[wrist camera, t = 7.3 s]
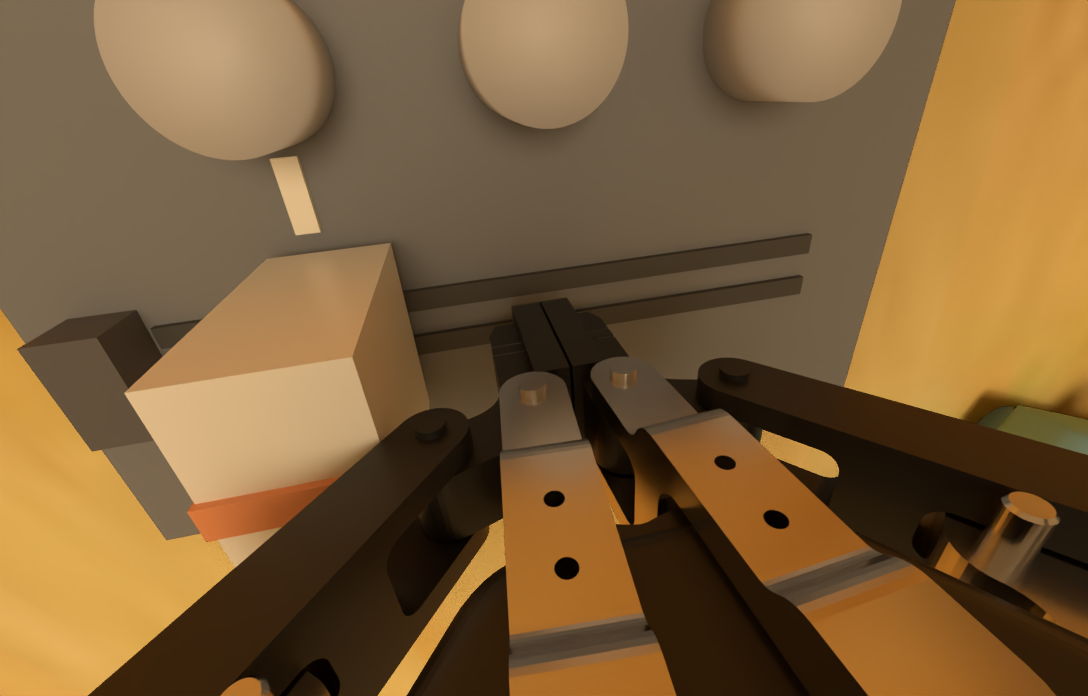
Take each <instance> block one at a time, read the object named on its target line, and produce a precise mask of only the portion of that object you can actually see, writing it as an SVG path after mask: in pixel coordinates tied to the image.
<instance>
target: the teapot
mask: <svg viewBox="0 0 1088 696" xmlns="http://www.w3.org/2000/svg"><path fill="white" fill-rule="evenodd" d="M977 424H978V425H982V426H985V427H989V428H992V429H996V430H1000V431H1003V432H1007V433H1010V434H1014V435H1018V436H1021V437H1025V438H1028V439H1032V440H1036V441H1039V442H1043V443H1046V444H1050V445H1054V446H1057V447H1061V448H1064V449H1068V450H1072V451H1075V452H1079V453H1082V454H1086V455H1088V419H1083V418H1078V417H1074V416H1069V415H1064V414H1060V413H1055V412H1050V411H1046V410H1041V409H1036V408H1031V407H1027V406H1022V405H1017V407H1016V408H1015V409H1014V408H1013V407H1011V406H1005V407H1001V408H998V409H995V410H993V411H992V412H990V413H989V414H987V415H986V416H985V417H983V418H982V419H981V420H980V421H979V422H978V423H977Z"/></svg>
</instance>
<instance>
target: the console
mask: <svg viewBox="0 0 1088 696" xmlns="http://www.w3.org/2000/svg"><path fill="white" fill-rule="evenodd" d="M955 1H956V0H0V309H1V310H2V311H3V313H4V314H5V316H6V317H7V318H8V320H9V321H10V323H11V324H12V325H13V327H14V328H15V330H16V331H17V332H18V334H19V335H20V337H21V338H22V339H23V341H24V342H25V345H23V346H22V347H20V348H18V349H17V350H18V351H19V352H20V354H21V355H22V357H23V358H24V359H25V361H26V362H27V363H28V365H29V366H30V367H31V369H32V370H33V372H34V373H35V374H36V376H37V377H38V378H39V380H40V381H41V383H42V384H43V385H44V387H45V388H46V389H47V391H48V392H49V393H50V395H51V396H52V398H53V399H54V400H55V402H56V403H57V404H58V406H59V407H60V408H61V410H62V411H63V413H64V414H65V415H66V417H67V418H68V419H69V421H70V422H71V423H72V425H73V426H74V428H75V429H76V430H77V432H78V433H79V434H80V436H81V437H82V439H83V440H84V441H85V443H86V444H87V445H88V447H89V448H90V449H91V451H97V450H102V451H103V452H104V454H105V455H106V457H107V458H108V459H109V461H110V462H111V464H112V465H113V466H114V468H115V469H116V470H117V472H118V473H119V475H120V476H121V477H122V479H123V480H124V482H125V483H126V484H127V486H128V487H129V489H130V490H131V491H132V493H133V494H134V496H135V497H136V498H137V500H138V501H139V503H140V504H141V505H142V507H143V508H144V510H145V511H146V512H147V514H148V515H149V517H150V518H151V519H152V521H153V522H154V523H155V525H156V526H157V528H158V529H159V530H160V532H161V533H162V535H163V536H164V537H165V539H166V540H170V539H175V538H180V537H185V536H190V535H195V534H200V531H199V530H198V528H197V527H196V525H195V524H194V522H193V521H192V519H191V518H190V516H189V515H188V513H187V511H188V510H189V508H190V507H191V505H192V503H193V501H192V499H191V498H190V496H189V494H188V493H187V491H186V490H185V488H184V487H183V485H182V483H181V482H180V480H179V479H178V477H177V476H176V474H175V472H174V471H173V469H172V468H171V466H170V465H169V463H168V461H167V460H166V458H165V457H164V455H163V454H162V452H161V450H160V449H159V447H158V446H157V444H156V443H155V441H154V439H153V438H152V436H151V435H150V433H149V431H148V430H147V428H146V427H145V425H144V424H143V422H142V420H141V419H140V417H139V416H138V414H137V413H136V411H135V409H134V408H133V406H132V405H131V403H130V402H129V400H128V398H127V397H126V395H125V394H124V393H125V392H126V391H127V390H128V389H129V388H130V387H131V386H132V385H133V384H134V383H135V382H136V381H137V380H139V379H140V378H141V377H142V376H143V375H144V374H145V373H146V372H147V371H148V370H149V369H150V368H151V367H152V366H153V365H154V364H156V363H157V362H158V361H159V360H160V359H161V358H162V357H163V356H164V355H165V354H166V353H167V352H168V351H169V350H170V349H171V348H173V347H174V346H175V345H176V344H177V343H178V342H179V341H180V340H181V339H182V338H183V337H184V336H185V335H186V334H187V333H188V332H190V331H191V330H192V329H193V328H194V327H195V326H196V325H197V324H198V323H199V322H200V321H201V320H202V319H203V318H204V317H205V316H207V315H208V314H209V313H210V312H211V311H212V310H213V309H214V308H215V307H216V306H217V305H218V304H219V303H220V302H221V301H222V300H224V299H225V298H226V297H227V296H228V295H229V294H230V293H231V292H232V291H233V290H234V289H235V288H236V287H237V286H238V285H239V284H241V283H242V282H243V281H244V280H245V279H246V278H247V277H248V276H249V275H250V274H251V273H252V272H253V271H254V270H255V269H256V268H258V267H259V266H260V265H261V264H262V263H263V262H264V261H265V260H266V259H269V258H277V257H284V256H292V255H300V254H308V253H316V252H323V251H331V250H339V249H347V248H355V247H362V246H370V245H378V244H386V243H391V246H392V250H393V254H394V258H395V262H396V267H397V271H398V275H399V279H400V283H401V287H402V291H403V295H404V299H405V303H406V307H407V312H408V316H409V320H410V324H411V328H412V332H413V336H414V340H415V344H416V348H417V352H418V357H419V361H420V365H421V369H422V373H423V377H424V381H425V385H426V389H427V393H428V397H429V409H435V408H450V409H455V410H457V411H460V412H461V413H463V414H464V415H465V416H466V417H467V419H470V418H472V417H475V416H477V415H479V414H481V413H483V412H485V411H487V410H488V409H489V408H491V407H492V406H493V405H494V404H495V403H496V401H497V400H498V398H499V392H498V387H497V381H496V375H495V369H494V362H493V356H492V350H491V343H490V337H489V336H490V335H491V333H492V331H493V330H494V328H495V326H501V325H508V324H513V319H512V309H511V307H512V306H514V305H521V304H527V303H533V302H539V303H540V301H546V300H552V299H559V298H565V297H566V298H567V299H568V300H569V302H570V303H571V305H572V307H573V308H574V310H575V311H576V313H582V312H590V313H592V314H594V315H596V316H598V317H600V318H602V320H603V321H604V323H605V324H606V325H607V327H608V329H610V331H611V332H612V334H613V336H614V337H615V338H616V339H617V341H618V342H619V343H620V345H621V346H622V347H623V349H624V350H625V352H626V353H627V354H628V356H629V357H633V358H638V359H641V360H644V361H646V362H648V363H650V364H651V365H652V366H653V367H654V368H655V369H656V370H657V371H658V372H659V373H660V374H661V375H662V376H663V377H664V378H666V379H697V377H698V370H699V367H700V366H701V365H702V364H703V363H705V362H707V361H709V360H712V359H716V358H739V359H744V360H748V361H751V362H755V363H759V364H762V365H766V366H769V367H773V368H777V369H780V370H784V371H787V372H791V373H795V374H798V375H802V376H805V377H809V378H813V379H816V380H820V381H823V382H827V383H831V384H834V385H838V386H841V387H844V384H845V380H846V377H847V374H848V370H849V367H850V363H851V360H852V356H853V353H854V349H855V346H856V343H857V339H858V336H859V332H860V329H861V325H862V322H863V318H864V315H865V311H866V308H867V305H868V301H869V298H870V294H871V291H872V287H873V284H874V280H875V277H876V274H877V270H878V267H879V263H880V260H881V256H882V253H883V249H884V246H885V243H886V239H887V236H888V232H889V229H890V225H891V222H892V218H893V215H894V212H895V208H896V205H897V201H898V198H899V194H900V191H901V187H902V184H903V181H904V177H905V174H906V170H907V167H908V163H909V160H910V156H911V153H912V150H913V146H914V143H915V139H916V136H917V132H918V129H919V125H920V122H921V118H922V115H923V112H924V108H925V105H926V101H927V98H928V94H929V91H930V87H931V84H932V81H933V77H934V74H935V70H936V67H937V63H938V60H939V56H940V53H941V50H942V46H943V43H944V39H945V36H946V32H947V29H948V25H949V22H950V19H951V15H952V12H953V8H954V5H955Z"/></svg>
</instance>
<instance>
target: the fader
mask: <svg viewBox="0 0 1088 696" xmlns="http://www.w3.org/2000/svg"><path fill="white" fill-rule="evenodd" d="M124 394H125V395H126V397H127V398H128V400H129V402H130V403H131V405H132V406H133V408H134V409H135V411H136V413H137V414H138V416H139V417H140V419H141V420H142V422H143V424H144V425H145V427H146V428H147V430H148V431H149V433H150V435H151V436H152V438H153V439H154V441H155V443H156V444H157V446H158V447H159V449H160V450H161V452H162V454H163V455H164V457H165V458H166V460H167V461H168V463H169V465H170V466H171V468H172V469H173V471H174V472H175V474H176V476H177V477H178V479H179V480H180V482H181V483H182V485H183V487H184V488H185V490H186V491H187V493H188V494H189V496H190V498H191V499H192V501H193V503H192V505H191V507H190V508H189V510H188V511H187V513H188V515H189V516H190V518H191V519H192V521H193V522H194V524H195V525H196V527H197V528H198V530H199V531H200V533H201V535H202V536H203V538H204V539H205V541H206V542H210V541H215V540H218V542H219V543H220V545H221V546H222V548H223V549H224V551H225V553H226V554H227V556H228V557H229V559H230V561H231V562H232V564H233V565H234V567H235V568H236V567H237V566H238V565H239V564H240V563H241V562H243V561H244V560H245V559H246V558H247V557H248V556H249V555H251V554H252V553H253V552H254V551H255V550H256V549H257V548H259V547H260V546H261V545H262V544H263V543H264V542H266V541H267V540H268V539H269V538H270V537H271V536H272V535H274V534H275V533H276V532H277V531H278V530H279V529H281V528H282V527H283V526H284V525H285V524H286V523H287V522H289V521H290V520H291V519H292V518H293V517H294V516H296V515H297V514H298V513H299V512H300V511H301V510H302V509H304V508H305V507H306V506H307V505H308V504H309V503H310V502H312V501H313V500H314V499H315V498H316V497H317V496H319V495H320V494H321V493H322V492H323V491H324V490H325V489H327V488H328V487H329V486H330V485H331V484H332V483H334V482H335V481H336V480H337V479H338V478H339V477H340V476H342V475H343V474H344V473H345V472H346V471H347V470H348V469H350V468H351V467H352V466H353V465H354V464H355V463H357V462H358V461H359V460H360V459H361V458H362V457H363V456H365V455H366V454H367V453H368V452H369V451H370V450H372V449H373V448H374V447H375V446H376V445H377V444H378V443H380V442H381V441H382V440H383V439H384V438H385V437H387V436H388V435H389V434H390V433H391V432H392V431H393V430H395V429H396V428H397V427H398V426H399V425H400V424H401V423H403V422H404V421H405V420H406V419H408V418H409V417H411V416H413V415H415V414H417V413H419V412H422V411H425V410H429V397H428V393H427V389H426V385H425V381H424V377H423V373H422V369H421V365H420V361H419V357H418V352H417V348H416V344H415V340H414V336H413V332H412V328H411V324H410V320H409V316H408V312H407V307H406V303H405V299H404V295H403V291H402V287H401V283H400V279H399V275H398V271H397V267H396V262H395V258H394V254H393V250H392V246H391V243H386V244H378V245H370V246H362V247H355V248H347V249H339V250H331V251H323V252H316V253H308V254H300V255H292V256H284V257H277V258H269V259H266V260H265V261H264V262H263V263H262V264H261V265H260V266H259V267H258V268H256V269H255V270H254V271H253V272H252V273H251V274H250V275H249V276H248V277H247V278H246V279H245V280H244V281H243V282H242V283H241V284H239V285H238V286H237V287H236V288H235V289H234V290H233V291H232V292H231V293H230V294H229V295H228V296H227V297H226V298H225V299H224V300H222V301H221V302H220V303H219V304H218V305H217V306H216V307H215V308H214V309H213V310H212V311H211V312H210V313H209V314H208V315H207V316H205V317H204V318H203V319H202V320H201V321H200V322H199V323H198V324H197V325H196V326H195V327H194V328H193V329H192V330H191V331H190V332H188V333H187V334H186V335H185V336H184V337H183V338H182V339H181V340H180V341H179V342H178V343H177V344H176V345H175V346H174V347H173V348H171V349H170V350H169V351H168V352H167V353H166V354H165V355H164V356H163V357H162V358H161V359H160V360H159V361H158V362H157V363H156V364H154V365H153V366H152V367H151V368H150V369H149V370H148V371H147V372H146V373H145V374H144V375H143V376H142V377H141V378H140V379H139V380H137V381H136V382H135V383H134V384H133V385H132V386H131V387H130V388H129V389H128V390H127V391H126V392H125V393H124Z"/></svg>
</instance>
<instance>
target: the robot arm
mask: <svg viewBox="0 0 1088 696" xmlns="http://www.w3.org/2000/svg"><path fill="white" fill-rule="evenodd" d="M511 309H512V319H513V324H508V325H501V326H495V328H494V330H493V331H492V333H491V335H490V336H489V337H490V343H491V350H492V356H493V362H494V369H495V375H496V381H497V387H498V392H499V398H498V400H497V401H496V403H495V404H494V405H493V406H492V407H491V408H489V409H488V410H487V411H485V412H483V413H481V414H479V415H477V416H475V417H472V418H470V419H467V417H466V416H465V415H464V414H463V413H461V412H460V411H457V410H455V409H450V408H435V409H429V410H425V411H422V412H419V413H417V414H415V415H413V416H411V417H409V418H408V419H406V420H405V421H404V422H403V423H401V424H400V425H399V426H398V427H397V428H396V429H395V430H393V431H392V432H391V433H390V434H389V435H388V436H387V437H385V438H384V439H383V440H382V441H381V442H380V443H378V444H377V445H376V446H375V447H374V448H373V449H372V450H370V451H369V452H368V453H367V454H366V455H365V456H363V457H362V458H361V459H360V460H359V461H358V462H357V463H355V464H354V465H353V466H352V467H351V468H350V469H348V470H347V471H346V472H345V473H344V474H343V475H342V476H340V477H339V478H338V479H337V480H336V481H335V482H334V483H332V484H331V485H330V486H329V487H328V488H327V489H325V490H324V491H323V492H322V493H321V494H320V495H319V496H317V497H316V498H315V499H314V500H313V501H312V502H310V503H309V504H308V505H307V506H306V507H305V508H304V509H302V510H301V511H300V512H299V513H298V514H297V515H296V516H294V517H293V518H292V519H291V520H290V521H289V522H287V523H286V524H285V525H284V526H283V527H282V528H281V529H279V530H278V531H277V532H276V533H275V534H274V535H272V536H271V537H270V538H269V539H268V540H267V541H266V542H264V543H263V544H262V545H261V546H260V547H259V548H257V549H256V550H255V551H254V552H253V553H252V554H251V555H249V556H248V557H247V558H246V559H245V560H244V561H243V562H241V563H240V564H239V565H238V566H237V567H236V568H234V569H233V570H232V571H231V572H230V573H229V574H228V575H226V576H225V577H224V578H223V579H222V580H221V581H219V582H218V583H217V584H216V585H215V586H214V587H213V588H211V589H210V590H209V591H208V592H207V593H206V594H204V595H203V596H202V597H201V598H200V599H199V600H198V601H196V602H195V603H194V604H193V605H192V606H191V607H190V608H188V609H187V610H186V611H185V612H184V613H183V614H181V615H180V616H179V617H178V618H177V619H176V620H175V621H173V622H172V623H171V624H170V625H169V626H168V627H166V628H165V629H164V630H163V631H162V632H161V633H160V634H158V635H157V636H156V637H155V638H154V639H153V640H151V641H150V642H149V643H148V644H147V645H146V646H145V647H143V648H142V649H141V650H140V651H139V652H138V653H137V654H135V655H134V656H133V657H132V658H131V659H130V660H128V661H127V662H126V663H125V664H124V665H123V666H122V667H120V668H119V669H118V670H117V671H116V672H115V673H113V674H112V675H111V676H110V677H109V678H108V679H107V680H105V681H104V682H103V683H102V684H101V685H100V686H99V687H97V688H96V689H95V690H94V691H93V692H92V693H90V694H89V695H88V696H378V694H379V693H380V691H381V690H382V688H383V687H384V685H385V684H386V683H387V681H388V680H389V678H390V677H391V675H392V674H393V673H394V671H395V670H396V668H397V667H398V665H399V664H400V662H401V661H402V660H403V658H404V657H405V655H406V654H407V652H408V651H409V650H410V648H411V647H412V645H413V644H414V642H415V641H416V640H417V638H418V637H419V635H420V634H421V632H422V631H423V629H424V628H425V627H426V625H427V624H428V622H429V621H430V619H431V618H432V617H433V615H434V614H435V612H436V611H437V609H438V608H439V606H440V605H441V604H442V602H443V601H444V599H445V598H446V596H447V595H448V594H449V592H450V591H451V589H452V588H453V586H454V585H455V583H456V582H457V581H458V579H459V578H460V576H461V575H462V573H463V572H464V571H465V569H466V568H467V566H468V565H469V563H470V562H471V560H472V559H473V558H474V556H475V555H476V553H477V552H478V550H479V549H480V548H481V546H482V545H483V543H484V542H485V540H486V538H487V536H488V533H489V525H491V524H493V523H495V522H497V521H498V520H500V519H502V518H503V523H504V542H505V560H506V565H505V566H504V567H502V568H501V569H499V570H497V571H496V572H495V573H494V574H492V575H491V576H490V577H489V578H487V579H486V580H485V581H484V582H483V583H482V584H481V585H480V586H479V587H478V588H477V589H476V590H475V591H474V592H473V593H472V594H471V596H470V597H469V598H468V599H467V601H466V602H465V603H464V604H463V606H462V607H461V608H460V610H459V611H458V613H457V614H456V616H455V617H454V619H453V621H452V622H451V624H450V626H449V627H448V629H447V630H446V632H445V634H444V635H443V637H442V639H441V640H440V642H439V644H438V645H437V647H436V648H435V650H434V652H433V653H432V655H431V657H430V658H429V660H428V662H427V663H426V665H425V666H424V668H423V670H422V671H421V673H420V675H419V676H418V678H417V680H416V681H415V683H414V684H413V686H412V688H411V689H410V691H409V693H408V694H407V696H1088V455H1086V454H1082V453H1079V452H1075V451H1072V450H1068V449H1064V448H1061V447H1057V446H1054V445H1050V444H1046V443H1043V442H1039V441H1036V440H1032V439H1028V438H1025V437H1021V436H1018V435H1014V434H1010V433H1007V432H1003V431H1000V430H996V429H992V428H989V427H985V426H982V425H978V424H974V423H971V422H967V421H964V420H960V419H957V418H953V417H949V416H946V415H942V414H939V413H935V412H931V411H928V410H924V409H921V408H917V407H913V406H910V405H906V404H903V403H899V402H895V401H892V400H888V399H885V398H881V397H877V396H874V395H870V394H867V393H863V392H859V391H856V390H852V389H849V388H845V387H841V386H838V385H834V384H831V383H827V382H823V381H820V380H816V379H813V378H809V377H805V376H802V375H798V374H795V373H791V372H787V371H784V370H780V369H777V368H773V367H769V366H766V365H762V364H759V363H755V362H751V361H748V360H744V359H739V358H716V359H712V360H709V361H707V362H705V363H703V364H702V365H701V366H700V367H699V370H698V377H697V379H666V378H664V377H663V376H662V375H661V374H660V373H659V372H658V371H657V370H656V369H655V368H654V367H653V366H652V365H651V364H650V363H648V362H646V361H644V360H641V359H638V358H633V357H629V356H628V354H627V353H626V352H625V350H624V349H623V347H622V346H621V345H620V343H619V342H618V341H617V339H616V338H615V337H614V336H613V334H612V332H611V331H610V329H608V327H607V325H606V324H605V323H604V321H603V320H602V318H600V317H598V316H596V315H594V314H592V313H590V312H582V313H576V311H575V310H574V308H573V307H572V305H571V303H570V302H569V300H568V299H567V298H566V297H565V298H559V299H552V300H546V301H540V303H539V302H533V303H527V304H521V305H514V306H512V307H511ZM762 430H766V431H768V432H771V433H774V434H777V435H780V436H782V437H785V438H788V439H791V440H794V441H796V442H799V443H802V444H805V445H807V446H810V447H813V448H816V449H819V450H821V451H823V452H825V453H827V454H829V455H830V456H831V457H832V458H833V459H834V460H835V461H836V463H837V464H838V467H839V475H838V477H834V478H828V477H823V476H820V475H817V474H815V473H812V472H810V471H807V470H805V469H802V468H799V467H797V466H794V465H792V464H789V463H787V462H784V461H781V460H779V459H776V458H775V457H774V456H773V455H772V454H771V453H770V452H769V451H768V450H767V449H766V448H765V447H764V446H762V445H761V444H760V440H761V435H762ZM609 504H610V505H609ZM610 506H611V508H612V510H613V512H614V514H615V516H616V518H617V520H618V521H619V523H620V524H615V521H614V518H613V515H612V512H611V508H610Z"/></svg>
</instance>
